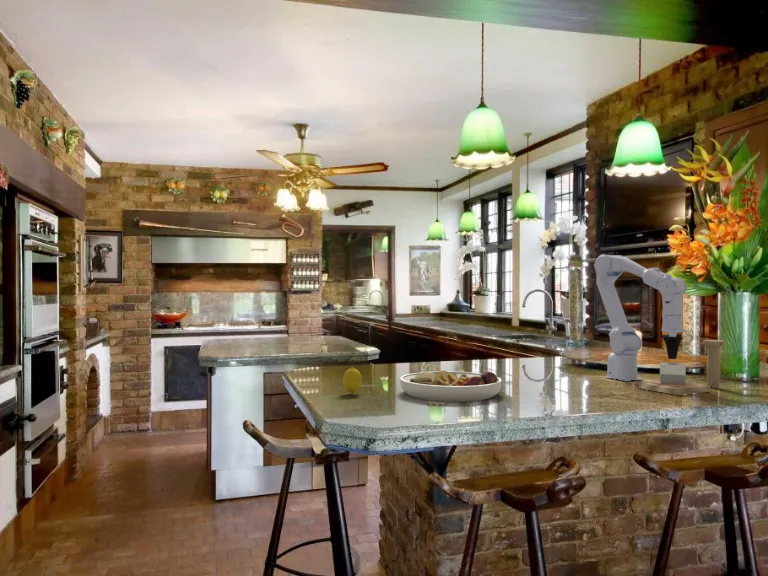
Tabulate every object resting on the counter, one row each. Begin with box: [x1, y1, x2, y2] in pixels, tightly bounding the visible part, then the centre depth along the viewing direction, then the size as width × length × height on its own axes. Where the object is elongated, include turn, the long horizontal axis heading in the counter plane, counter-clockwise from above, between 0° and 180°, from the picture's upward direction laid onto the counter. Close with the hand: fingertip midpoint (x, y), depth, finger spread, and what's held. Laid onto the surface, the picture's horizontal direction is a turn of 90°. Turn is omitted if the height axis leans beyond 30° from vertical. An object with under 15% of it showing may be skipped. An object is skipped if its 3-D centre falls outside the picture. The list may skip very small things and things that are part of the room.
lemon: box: [342, 367, 363, 395], centre depth 181 cm, size 6×6×8 cm
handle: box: [702, 339, 725, 389], centre depth 193 cm, size 5×6×15 cm
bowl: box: [399, 369, 503, 403], centre depth 182 cm, size 30×30×8 cm
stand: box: [638, 380, 710, 396], centre depth 188 cm, size 14×14×2 cm
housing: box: [659, 362, 687, 385], centre depth 188 cm, size 4×7×6 cm, turn 66°
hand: (672, 357), depth 196 cm, fingers open, 7 cm apart
